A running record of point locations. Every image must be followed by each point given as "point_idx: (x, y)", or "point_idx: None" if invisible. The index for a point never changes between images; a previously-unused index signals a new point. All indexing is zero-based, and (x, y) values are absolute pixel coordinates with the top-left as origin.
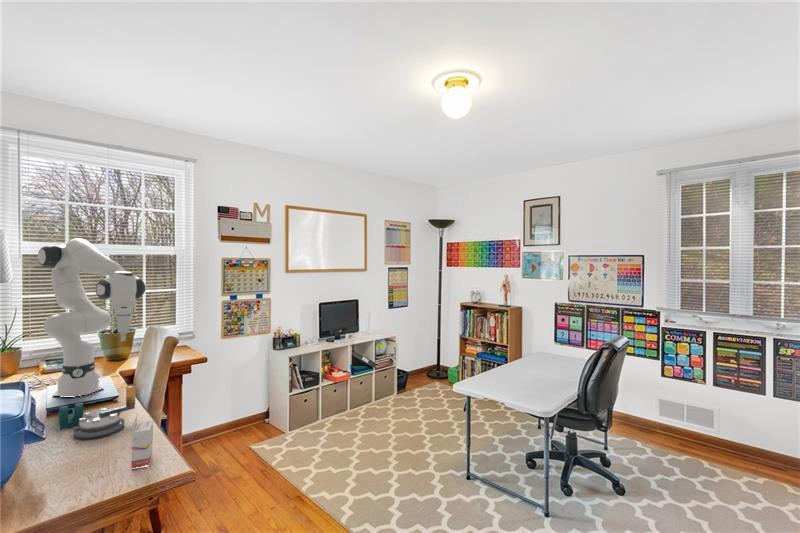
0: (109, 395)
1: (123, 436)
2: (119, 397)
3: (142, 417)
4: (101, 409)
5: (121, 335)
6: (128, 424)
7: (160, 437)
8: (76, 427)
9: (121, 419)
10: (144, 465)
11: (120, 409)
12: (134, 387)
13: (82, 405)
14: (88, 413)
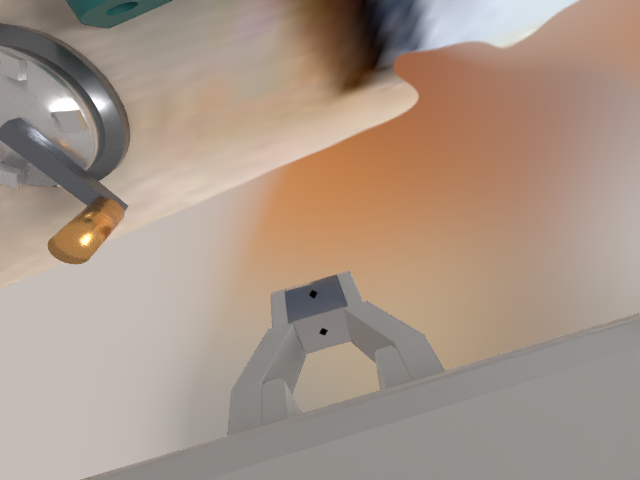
0: (441, 36)
1: (9, 197)
2: (396, 85)
3: (168, 208)
4: (65, 114)
5: (254, 363)
6: (110, 185)
7: (15, 280)
8: (3, 25)
9: (100, 172)
10: None
11: (67, 186)
12: (70, 261)
13: (82, 9)
14: (4, 71)
